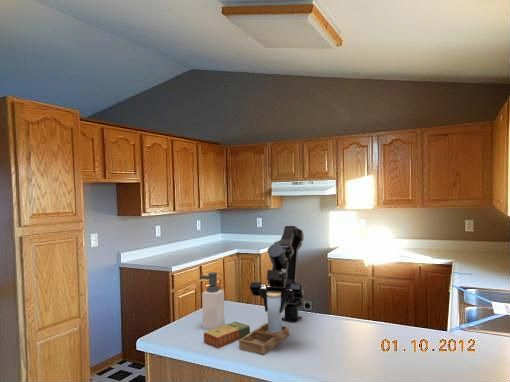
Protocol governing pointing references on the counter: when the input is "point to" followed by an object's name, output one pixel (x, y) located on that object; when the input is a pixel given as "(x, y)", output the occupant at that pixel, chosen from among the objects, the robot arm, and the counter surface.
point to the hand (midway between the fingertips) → (273, 311)
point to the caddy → (262, 339)
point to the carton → (226, 334)
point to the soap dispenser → (212, 304)
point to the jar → (274, 311)
